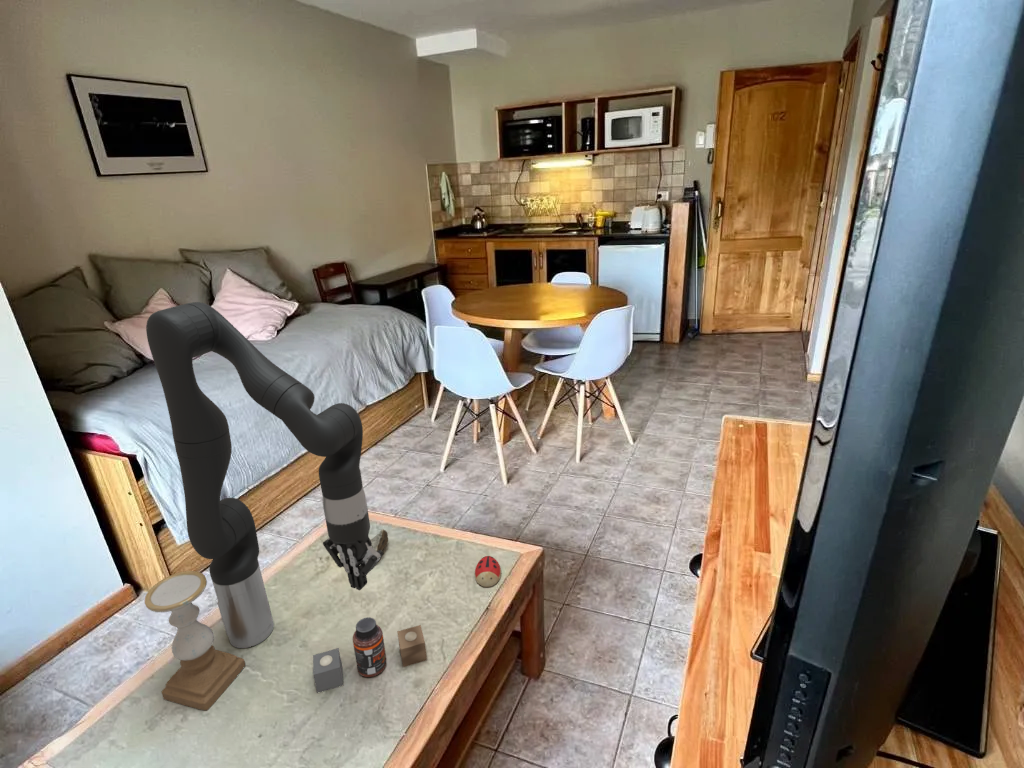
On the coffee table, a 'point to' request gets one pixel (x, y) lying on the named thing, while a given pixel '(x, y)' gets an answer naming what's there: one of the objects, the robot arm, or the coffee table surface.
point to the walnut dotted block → (412, 645)
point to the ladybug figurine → (487, 571)
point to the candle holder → (192, 644)
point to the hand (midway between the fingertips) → (358, 586)
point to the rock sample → (379, 541)
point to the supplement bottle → (369, 647)
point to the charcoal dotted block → (327, 670)
